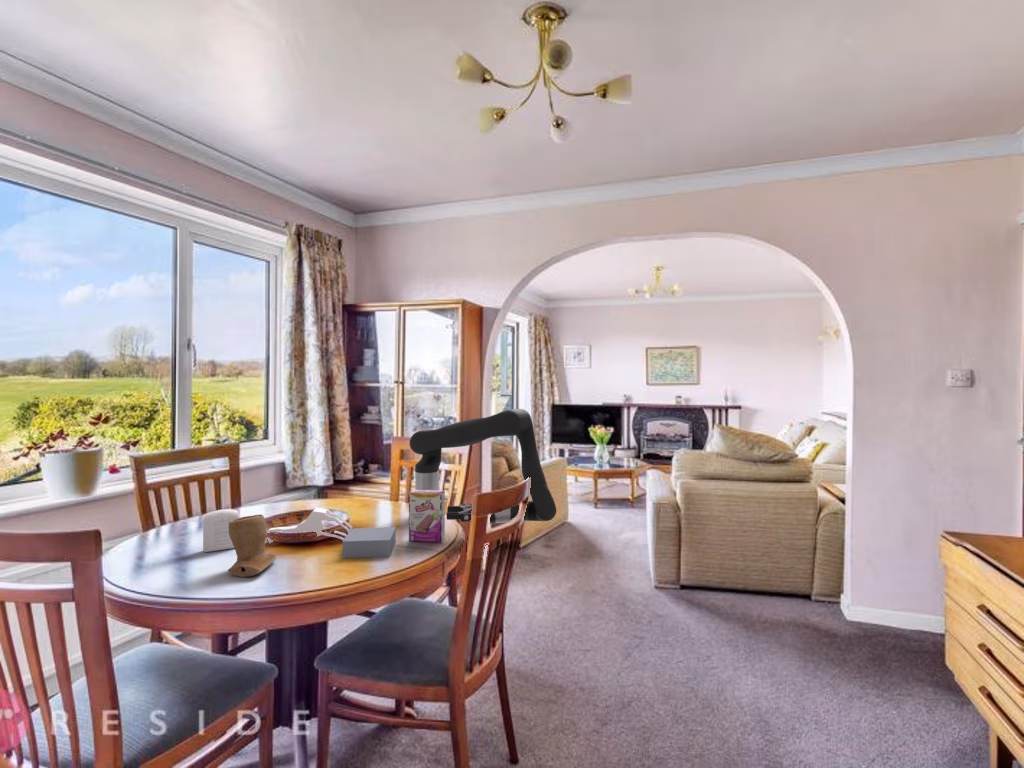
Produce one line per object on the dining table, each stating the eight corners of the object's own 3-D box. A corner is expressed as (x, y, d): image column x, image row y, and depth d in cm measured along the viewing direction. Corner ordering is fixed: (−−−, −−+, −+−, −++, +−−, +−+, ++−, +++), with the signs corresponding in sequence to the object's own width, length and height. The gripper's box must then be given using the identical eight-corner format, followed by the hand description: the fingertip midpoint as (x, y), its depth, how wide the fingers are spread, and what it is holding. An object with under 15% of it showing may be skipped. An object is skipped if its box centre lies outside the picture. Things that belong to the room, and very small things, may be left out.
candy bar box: (408, 542, 178) (407, 492, 178) (412, 537, 183) (412, 489, 183) (442, 543, 177) (441, 492, 177) (445, 538, 182) (445, 489, 182)
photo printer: (239, 544, 177) (238, 506, 177) (240, 547, 173) (240, 509, 173) (202, 550, 171) (202, 510, 171) (203, 553, 168) (203, 513, 167)
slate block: (352, 543, 177) (351, 528, 177) (395, 542, 178) (395, 527, 178) (342, 558, 163) (342, 541, 163) (390, 556, 164) (390, 539, 164)
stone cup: (240, 560, 161) (239, 510, 161) (281, 560, 162) (281, 509, 161) (214, 580, 146) (214, 524, 146) (260, 579, 146) (259, 523, 146)
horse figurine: (337, 564, 183) (265, 538, 181) (355, 519, 183) (284, 492, 181) (333, 570, 178) (259, 543, 176) (352, 523, 178) (279, 495, 176)
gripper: (494, 495, 189) (447, 496, 188) (497, 505, 175) (446, 506, 173) (494, 517, 189) (447, 518, 188) (497, 528, 175) (446, 530, 173)
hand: (447, 512), depth 181 cm, fingers open, 8 cm apart
